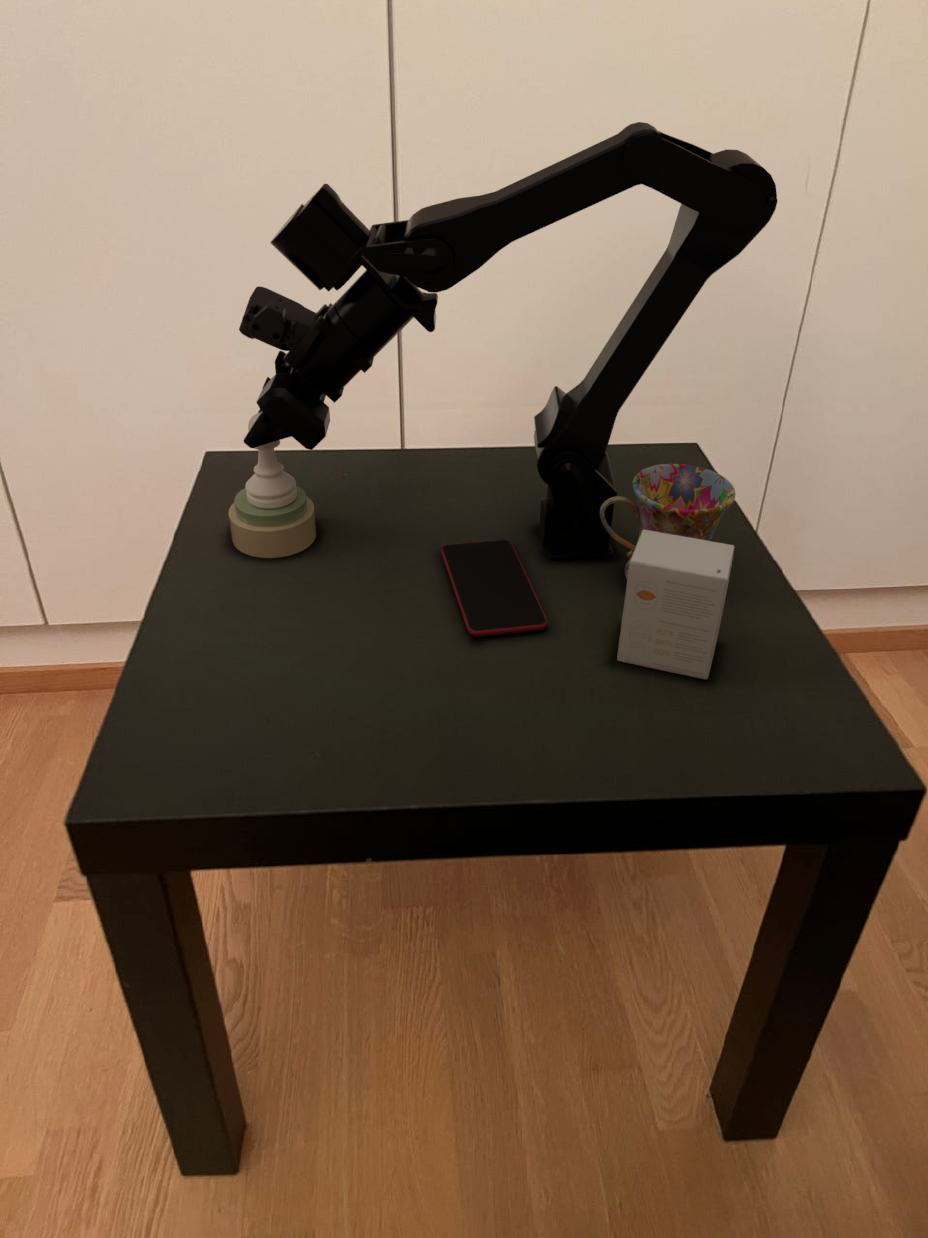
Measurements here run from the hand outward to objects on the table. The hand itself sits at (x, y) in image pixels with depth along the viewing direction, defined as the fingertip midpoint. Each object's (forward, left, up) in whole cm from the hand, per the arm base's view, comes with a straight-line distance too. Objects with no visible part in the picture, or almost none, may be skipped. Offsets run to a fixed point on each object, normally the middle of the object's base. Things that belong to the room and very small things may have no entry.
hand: (250, 437), depth 92 cm
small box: (-36, +23, -11) cm, 44 cm away
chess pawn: (-1, 0, -7) cm, 7 cm away
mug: (-38, +12, -11) cm, 42 cm away
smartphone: (-22, +12, -11) cm, 28 cm away
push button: (-1, 0, -11) cm, 11 cm away
